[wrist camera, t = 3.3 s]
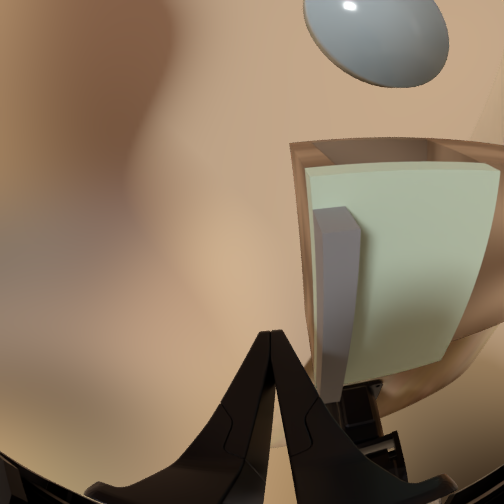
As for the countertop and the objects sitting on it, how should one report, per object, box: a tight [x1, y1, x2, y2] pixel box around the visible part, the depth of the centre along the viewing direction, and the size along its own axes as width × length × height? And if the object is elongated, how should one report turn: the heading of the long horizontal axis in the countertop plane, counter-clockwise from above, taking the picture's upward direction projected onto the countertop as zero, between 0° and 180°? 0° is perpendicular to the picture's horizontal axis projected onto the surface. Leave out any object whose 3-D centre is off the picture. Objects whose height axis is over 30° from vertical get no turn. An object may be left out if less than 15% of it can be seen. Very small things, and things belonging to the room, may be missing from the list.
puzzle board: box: [290, 137, 504, 371], centre depth 12 cm, size 11×19×5 cm, turn 99°
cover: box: [305, 161, 500, 404], centre depth 9 cm, size 11×8×2 cm
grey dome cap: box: [303, 0, 449, 88], centre depth 8 cm, size 8×8×1 cm
